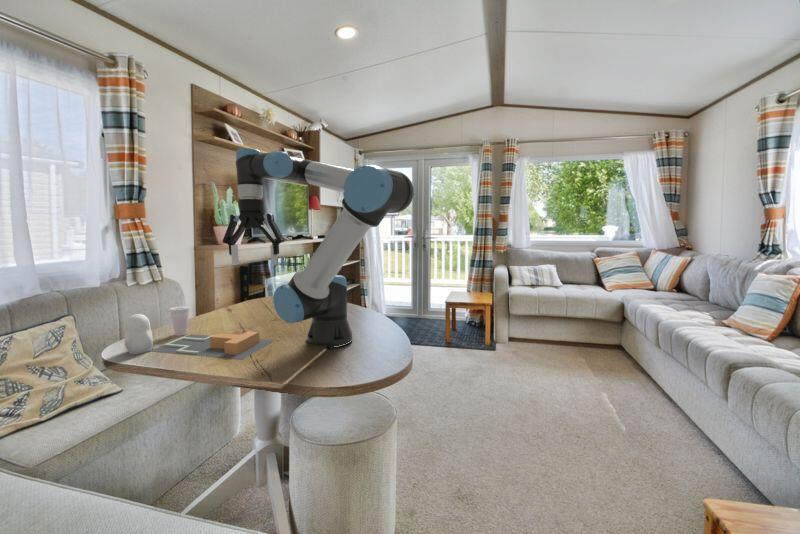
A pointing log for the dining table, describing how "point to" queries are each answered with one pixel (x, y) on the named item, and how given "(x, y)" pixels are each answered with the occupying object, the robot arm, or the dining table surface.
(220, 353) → the mat
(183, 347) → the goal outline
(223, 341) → the t block
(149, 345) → the figurine
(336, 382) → the dining table surface
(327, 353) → the dining table surface
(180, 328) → the smoothie
